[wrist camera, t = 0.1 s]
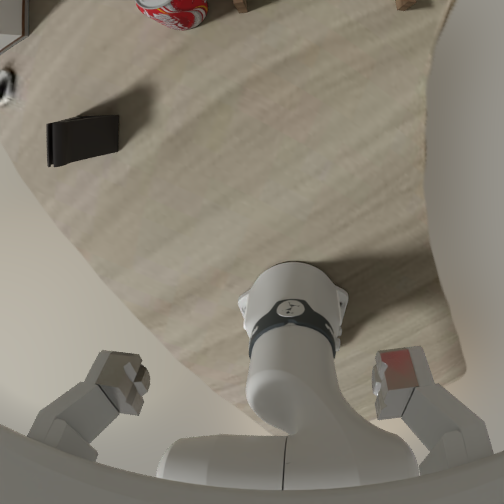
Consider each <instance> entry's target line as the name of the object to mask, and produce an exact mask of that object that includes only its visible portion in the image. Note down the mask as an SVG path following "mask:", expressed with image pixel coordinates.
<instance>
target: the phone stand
mask: <svg viewBox="0 0 504 504" xmlns="http://www.w3.org/2000/svg"><path fill="white" fill-rule="evenodd" d="M118 121H119V115H106V116H82V117H72V118H69V119H65V120H61V121H58V122H54V123H48V124H47V163H48V167H51V165H52V164H54V167H59V166H63V165H66V164H68V163H71V162H75V161H79V160H83V159H87V158H92V157H96V156H101V155H105V154H110V153H115V152H118Z"/></svg>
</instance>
